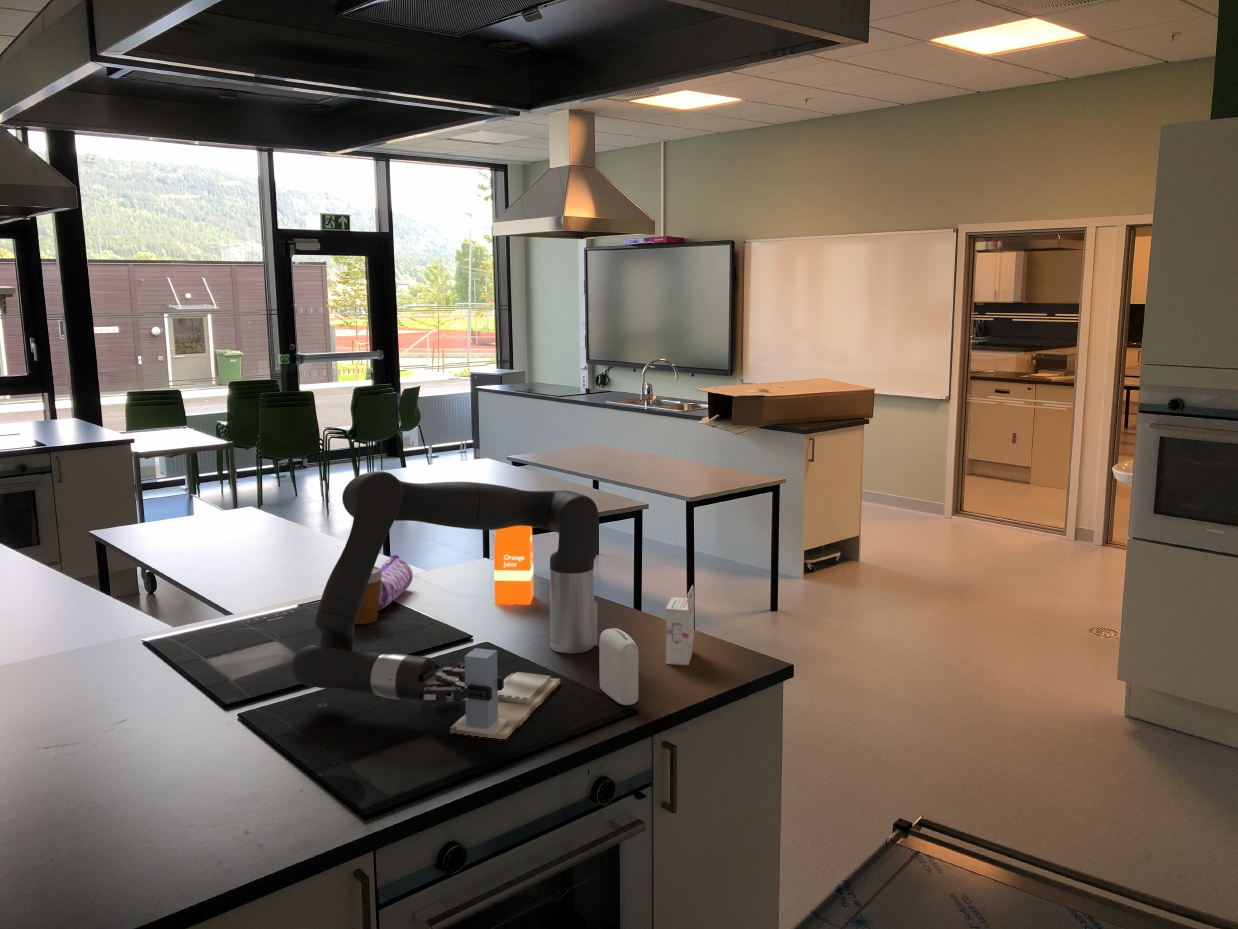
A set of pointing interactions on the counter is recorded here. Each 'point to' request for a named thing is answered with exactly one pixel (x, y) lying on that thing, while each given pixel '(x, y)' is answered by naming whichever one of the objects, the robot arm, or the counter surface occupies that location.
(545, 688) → the perforated strip board
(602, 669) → the photo printer
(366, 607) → the disposable coffee cup
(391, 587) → the pencil case
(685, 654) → the ink cartridge box
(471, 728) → the panel
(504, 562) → the orange juice
